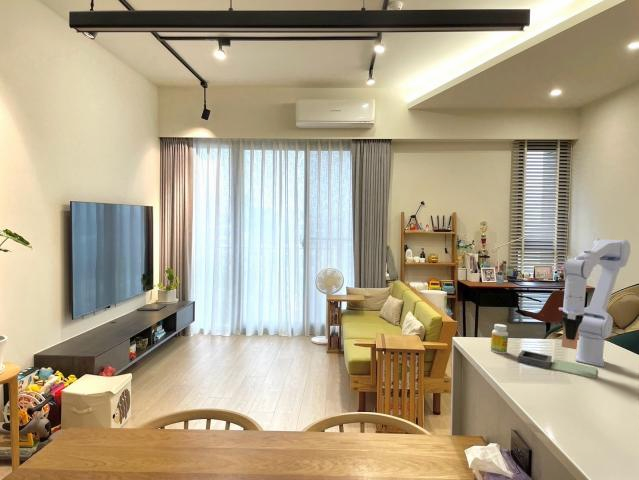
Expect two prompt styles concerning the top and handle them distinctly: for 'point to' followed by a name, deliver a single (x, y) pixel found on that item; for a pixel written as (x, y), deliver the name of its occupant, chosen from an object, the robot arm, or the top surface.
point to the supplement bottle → (499, 339)
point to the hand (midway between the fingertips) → (570, 337)
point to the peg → (567, 342)
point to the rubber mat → (574, 368)
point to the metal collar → (535, 359)
